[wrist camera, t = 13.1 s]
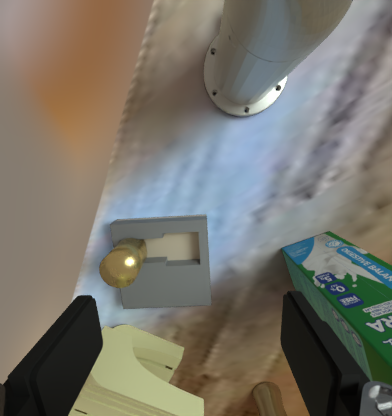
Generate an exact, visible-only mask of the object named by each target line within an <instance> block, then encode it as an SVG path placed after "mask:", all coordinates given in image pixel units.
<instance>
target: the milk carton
mask: <svg viewBox="0 0 392 416" xmlns="http://www.w3.org/2000/svg"><path fill="white" fill-rule="evenodd" d="M282 252H283V255H284V258H285V261H286V264H287V267H288V270H289V273H290V276H291V279H292V282H293V285H294V288H295V290H296V291H301V292H302V293H303V295H304V296H305V297H306V299H307V300H308V302H309V303H310V304H311V306H312V307H313V309H314V310H315V311H316V313H317V314H318V315H319V317H320V318H321V320H322V321H326V322H327V323H328V324H329V325H330V327H331V328H332V329H333V331H334V332H335V333H336V335H337V336H338V338H339V339H340V340H341V342H342V343H343V344H344V346H345V347H346V348H347V350H348V351H349V352H350V354H351V355H352V356H353V358H354V359H355V360H356V362H357V363H358V365H359V366H360V367H361V369H362V370H363V371H364V373H365V374H366V375H367V377H368V378H369V379H370V381H378V382H383V383H386V384H388V385H391V386H392V265H390V264H388V263H386V262H384V261H383V260H381V259H379V258H377V257H375V256H374V255H372V254H370V253H368V252H366V251H365V250H363V249H361V248H359V247H357V246H355V245H354V244H352V243H350V242H348V241H346V240H345V239H343V238H341V237H339V236H337V235H336V234H334V233H332V232H330V231H329V232H326V233H324V234H321V235H318V236H315V237H312V238H309V239H306V240H304V241H301V242H298V243H295V244H292V245H289V246H286V247H284V248H282Z"/></svg>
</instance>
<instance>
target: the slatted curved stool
mask: <svg viewBox="0 0 392 416" xmlns="http://www.w3.org/2000/svg"><path fill="white" fill-rule="evenodd" d="M102 338H103V347H102V350H101V352H100V354H99V356H98V358H97V360H96V362H95V364H94V366H93V368H92V370H91V372H90V374H89V376H88V378H87V380H86V382H85V384H84V386H83V388H82V390H81V392H80V394H79V395H78V397H77V399H76V401H75V403H74V405H73V407H72V409H71V411H70V413H69V415H68V416H204V399H202V398H199V397H197V396H195V395H192V394H190V393H188V392H185V391H183V390H181V389H179V388H177V387H175V386H173V385H171V384H169V381H170V379H171V377H172V376H173V374H174V370H175V369H177V367H178V365H179V363H180V362H181V360H182V356H183V351H184V347H181V346H179V345H176V344H174V343H172V342H169V341H167V340H164V339H162V338H159V337H157V336H154V335H152V334H150V333H147V332H145V331H142V330H140V329H137V328H135V327H132V326H130V325H119V326H117V327H114V328H113V329H112V328H110V327H107V326H105V327H104V328H103V330H102Z"/></svg>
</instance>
